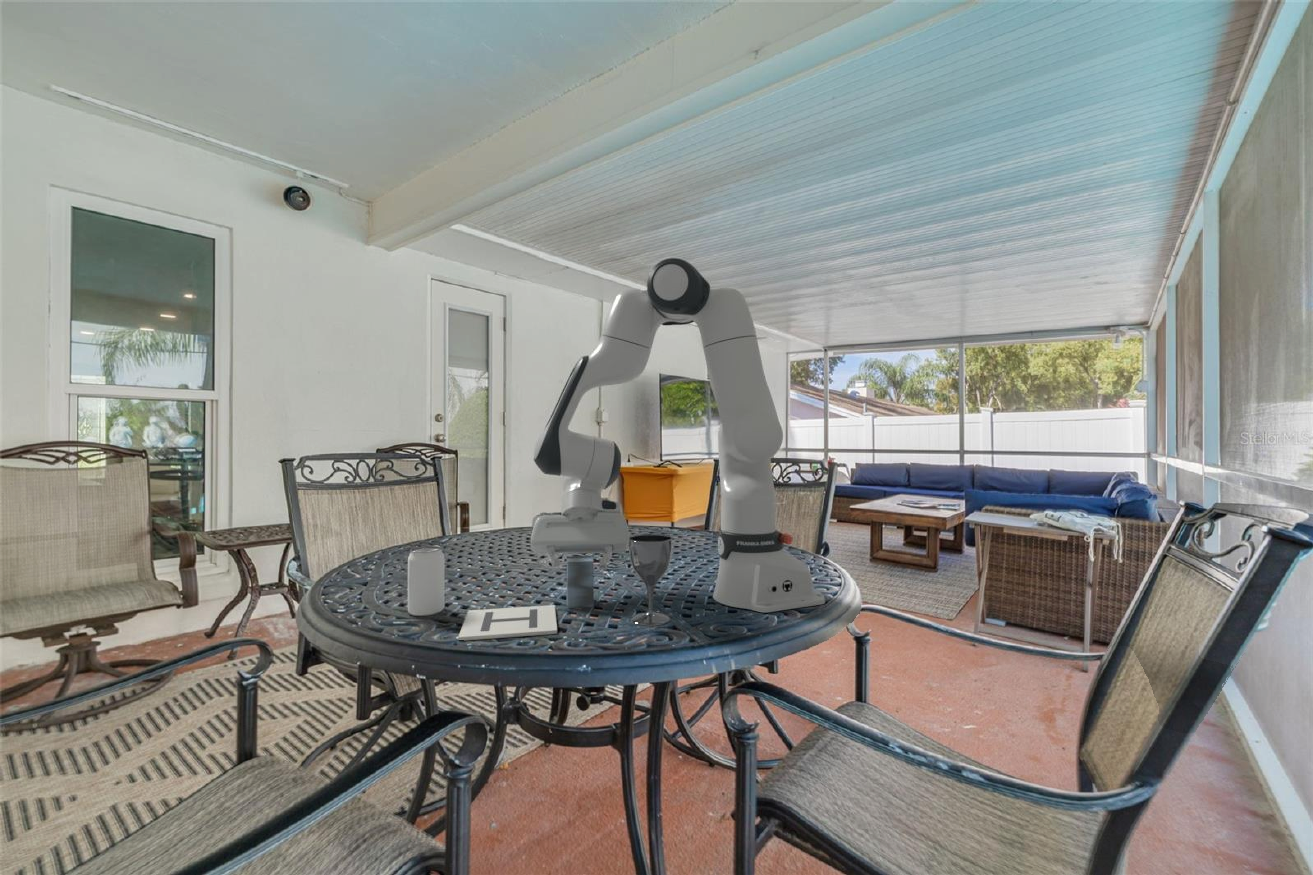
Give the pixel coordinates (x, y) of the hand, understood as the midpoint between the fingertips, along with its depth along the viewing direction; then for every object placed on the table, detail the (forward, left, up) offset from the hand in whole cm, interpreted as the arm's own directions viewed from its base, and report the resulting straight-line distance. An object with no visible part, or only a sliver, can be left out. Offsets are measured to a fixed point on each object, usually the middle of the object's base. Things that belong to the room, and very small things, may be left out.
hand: (579, 568), depth 112 cm
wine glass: (-12, +12, -7) cm, 18 cm away
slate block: (0, 0, -7) cm, 7 cm away
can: (+29, -1, -7) cm, 30 cm away
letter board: (+13, +9, -7) cm, 17 cm away
